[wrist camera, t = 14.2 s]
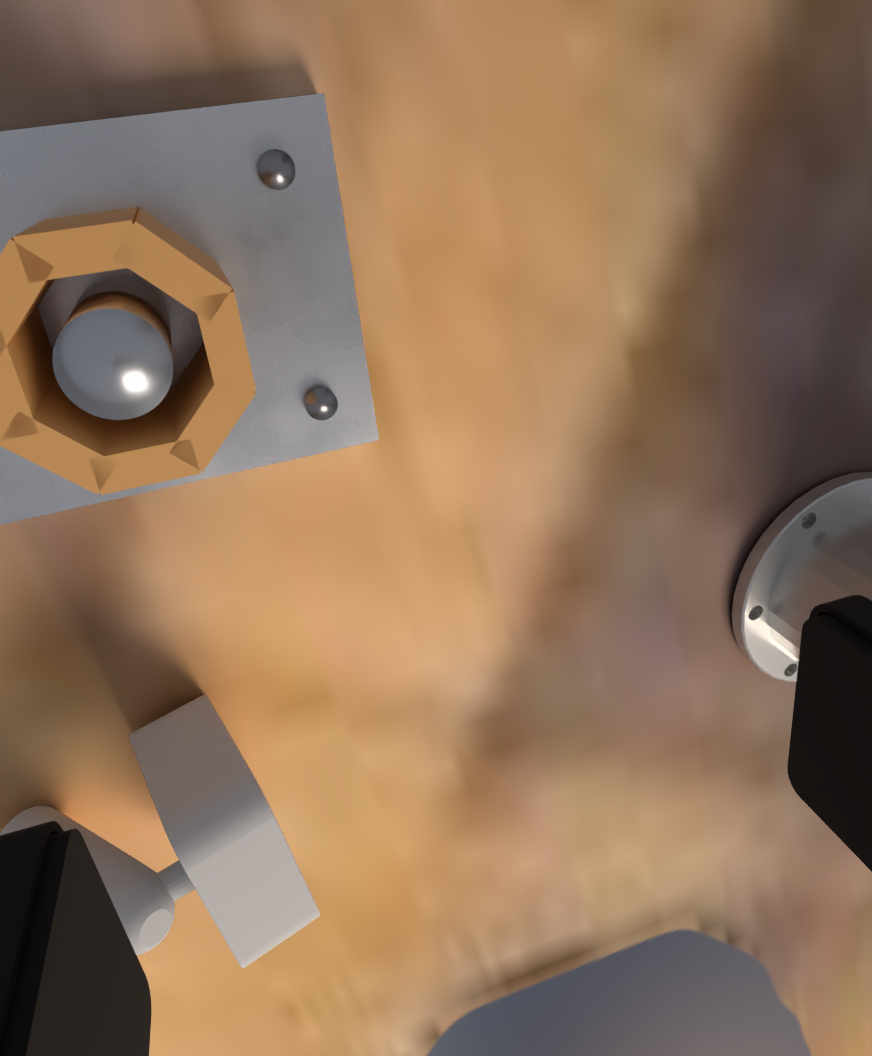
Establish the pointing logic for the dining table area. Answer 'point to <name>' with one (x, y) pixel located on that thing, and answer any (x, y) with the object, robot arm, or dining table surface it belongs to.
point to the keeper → (227, 237)
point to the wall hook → (200, 841)
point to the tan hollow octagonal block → (187, 409)
